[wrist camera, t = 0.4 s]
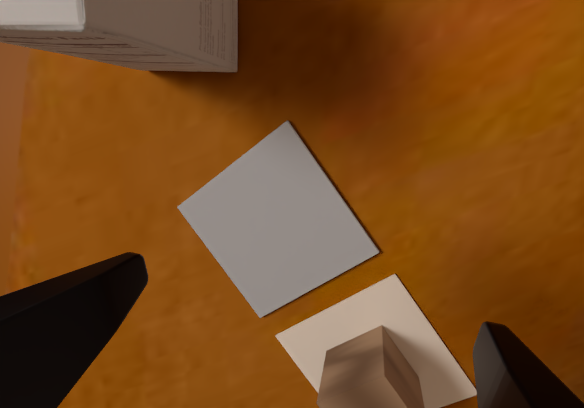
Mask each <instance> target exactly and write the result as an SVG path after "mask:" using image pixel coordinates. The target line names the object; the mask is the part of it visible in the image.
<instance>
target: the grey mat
mask: <svg viewBox="0 0 584 408" xmlns="http://www.w3.org/2000/svg"><path fill="white" fill-rule="evenodd" d="M177 208H178V209H179V210H180V212H181V213H182V214H183V216H184V217H185V218H186V220H187V221H188V222H189V224H190V225H191V226H192V228H193V229H194V230H195V232H196V233H197V234H198V236H199V237H200V238H201V240H202V241H203V242H204V244H205V245H206V246H207V248H208V249H209V250H210V252H211V253H212V254H213V256H214V257H215V258H216V260H217V261H218V262H219V264H220V265H221V267H222V268H223V269H224V271H225V272H226V273H227V275H228V276H229V277H230V279H231V280H232V281H233V283H234V284H235V285H236V287H237V288H238V289H239V291H240V292H241V293H242V295H243V296H244V297H245V299H246V300H247V301H248V303H249V304H250V305H251V307H252V308H253V309H254V311H255V312H256V313H257V315H258V316H259V317H260V318H261V317H263V316H265V315H267V314H268V313H270V312H272V311H274V310H276V309H278V308H279V307H281V306H283V305H285V304H287V303H288V302H290V301H292V300H294V299H296V298H298V297H299V296H301V295H303V294H305V293H307V292H309V291H310V290H312V289H314V288H316V287H318V286H319V285H321V284H323V283H325V282H327V281H329V280H330V279H332V278H334V277H336V276H338V275H339V274H341V273H343V272H345V271H347V270H349V269H350V268H352V267H354V266H356V265H358V264H360V263H361V262H363V261H365V260H367V259H369V258H370V257H372V256H374V255H376V254H378V253H379V250H378V248H377V247H376V246H375V244H374V243H373V241H372V240H371V238H370V237H369V236H368V234H367V233H366V231H365V230H364V228H363V227H362V226H361V224H360V223H359V221H358V220H357V218H356V217H355V216H354V214H353V213H352V211H351V210H350V208H349V207H348V205H347V204H346V203H345V201H344V200H343V198H342V197H341V195H340V194H339V193H338V191H337V190H336V188H335V187H334V185H333V184H332V183H331V181H330V180H329V178H328V177H327V175H326V174H325V173H324V171H323V170H322V168H321V167H320V165H319V164H318V163H317V161H316V160H315V158H314V157H313V155H312V154H311V153H310V151H309V150H308V148H307V147H306V145H305V144H304V142H303V141H302V140H301V138H300V137H299V135H298V134H297V132H296V131H295V130H294V128H293V127H292V125H291V124H290V122H289V121H288V120H287V121H286V122H284V123H283V124H282V125H281V126H279V127H278V128H277V129H276V130H274V131H273V132H272V133H271V134H269V135H268V136H267V137H265V138H264V139H263V140H262V141H260V142H259V143H258V144H257V145H255V146H254V147H253V148H252V149H250V150H249V151H248V152H246V153H245V154H244V155H243V156H241V157H240V158H239V159H238V160H236V161H235V162H234V163H232V164H231V165H230V166H229V167H227V168H226V169H225V170H224V171H222V172H221V173H220V174H219V175H217V176H216V177H215V178H213V179H212V180H211V181H210V182H208V183H207V184H206V185H205V186H203V187H202V188H201V189H199V190H198V191H197V192H196V193H194V194H193V195H192V196H191V197H189V198H188V199H187V200H186V201H184V202H183V203H182V204H180V205H179V206H178V207H177Z"/></svg>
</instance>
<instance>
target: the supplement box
mask: <svg viewBox="0 0 584 408" xmlns="http://www.w3.org/2000/svg"><path fill="white" fill-rule="evenodd" d="M0 42H3V43H8V44H13V45H19V46H24V47H29V48H34V49H40V50H45V51H50V52H56V53H61V54H66V55H71V56H76V57H80V58H85V59H90V60H95V61H99V62H104V63H109V64H114V65H118V66H123V67H128V68H133V69H138V70H145V71H147V70H153V71H194V72H237V59H238V0H0Z"/></svg>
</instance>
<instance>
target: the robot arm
mask: <svg viewBox="0 0 584 408" xmlns="http://www.w3.org/2000/svg"><path fill="white" fill-rule="evenodd" d="M147 282H148V273H147V269H146V265H145V261H144V258H143V256H142V255H140V254H137V253H132V252H127V253H124V254H121V255H118V256H115V257H112V258H110V259H107V260H104V261H101V262H98V263H95V264H92V265H89V266H87V267H84V268H81V269H78V270H75V271H72V272H69V273H66V274H63V275H61V276H58V277H55V278H52V279H49V280H46V281H43V282H40V283H38V284H35V285H32V286H29V287H26V288H23V289H20V290H17V291H15V292H12V293H9V294H6V295H3V296H0V408H57V407H58V406H59V405H60V403H61V402H62V401H63V399H64V398H65V397H66V396H67V394H68V393H69V392H70V390H71V389H72V388H73V387H74V385H75V384H76V383H77V381H78V380H79V379H80V378H81V376H82V375H83V374H84V372H85V371H86V370H87V369H88V367H89V366H90V365H91V363H92V362H93V361H94V360H95V358H96V357H97V356H98V354H99V353H100V352H101V351H102V349H103V348H104V347H105V345H106V344H107V343H108V342H109V340H110V339H111V338H112V336H113V335H114V334H115V332H116V331H117V330H118V328H119V327H120V325H121V324H122V322H123V321H124V319H125V318H126V316H127V314H128V313H129V311H130V310H131V308H132V307H133V305H134V304H135V302H136V300H137V299H138V297H139V296H140V294H141V293H142V291H143V290H144V288H145V286H146V285H147ZM473 362H474V371H475V381H476V390H477V400H478V408H584V403H583V402H582V401H581V400H580V399H579V398H578V397H577V396H576V395H575V394H574V393H573V392H572V391H571V390H570V389H569V388H568V387H567V386H566V385H565V384H564V383H563V382H562V381H561V380H560V379H559V378H558V377H557V376H556V375H555V374H554V373H553V372H552V371H551V370H550V369H549V368H548V367H547V366H546V365H545V364H544V363H543V362H542V361H541V360H540V359H539V358H538V357H537V356H536V355H535V354H534V353H533V352H532V351H531V350H530V349H529V348H528V347H527V346H526V345H525V344H524V343H523V342H522V341H521V340H520V339H519V338H518V337H517V336H516V335H515V334H514V333H513V332H512V331H511V330H510V329H509V328H508V327H506V326H505V325H502V324H498V323H493V322H488V321H486V322H483V324H482V325H481V328H480V330H479V333H478V336H477V339H476V342H475V345H474V348H473Z"/></svg>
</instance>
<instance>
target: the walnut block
mask: <svg viewBox="0 0 584 408" xmlns="http://www.w3.org/2000/svg"><path fill="white" fill-rule="evenodd" d="M317 404H318V406H319V407H320V408H425V407H424V402H423V397H422V391H421V386H420V381H419V377H418V375H417V374H416V373H415V371H414V370H413V368H412V367H411V366H410V364H409V363H408V361H407V360H406V359H405V357H404V356H403V354H402V353H401V351H400V350H399V349H398V347H397V346H396V344H395V343H394V342H393V340H392V339H391V337H390V336H389V335H388V333H387V332H386V330H385V329H384V328H383V326H382V325H381V326H379V327H377V328H374V329H372V330H370V331H368V332H366V333H364V334H362V335H359V336H357V337H355V338H353V339H351V340H349V341H346V342H344V343H342V344H340V345H338V346H336V347H333V348H331V349H329V350H327V351H326V356H325V361H324V366H323V372H322V377H321V382H320V388H319V393H318V398H317Z"/></svg>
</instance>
